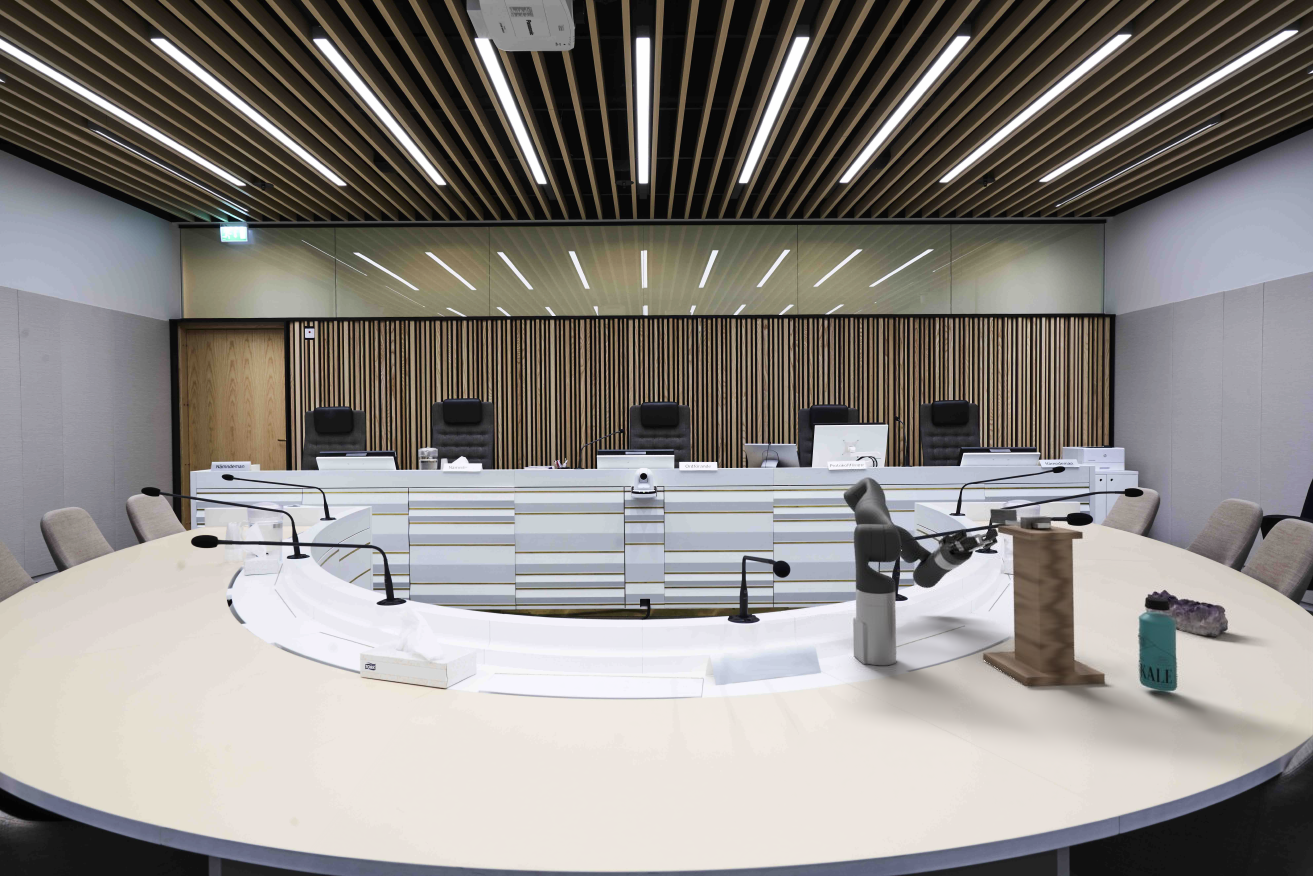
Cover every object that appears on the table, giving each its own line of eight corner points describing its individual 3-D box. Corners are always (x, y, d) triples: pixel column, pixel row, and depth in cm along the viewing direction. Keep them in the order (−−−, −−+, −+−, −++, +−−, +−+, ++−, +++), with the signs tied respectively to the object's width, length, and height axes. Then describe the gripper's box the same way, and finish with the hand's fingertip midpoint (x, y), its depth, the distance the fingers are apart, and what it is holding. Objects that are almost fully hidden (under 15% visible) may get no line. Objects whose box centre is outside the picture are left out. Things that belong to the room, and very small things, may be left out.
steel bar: (1038, 527, 144) (1037, 512, 144) (991, 522, 162) (990, 509, 162) (1050, 527, 144) (1049, 512, 145) (1002, 522, 162) (1001, 508, 162)
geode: (1130, 620, 185) (1131, 586, 186) (1158, 621, 189) (1159, 588, 190) (1209, 638, 166) (1210, 599, 167) (1239, 639, 169) (1240, 601, 170)
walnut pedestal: (1026, 686, 138) (1023, 523, 138) (983, 660, 153) (980, 514, 154) (1104, 683, 139) (1102, 521, 139) (1053, 658, 155) (1051, 512, 155)
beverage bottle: (1163, 686, 136) (1162, 594, 136) (1186, 699, 130) (1184, 602, 130) (1131, 686, 137) (1129, 593, 137) (1152, 698, 130) (1150, 601, 130)
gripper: (925, 541, 185) (950, 519, 171) (972, 540, 186) (1001, 518, 172) (932, 566, 181) (958, 546, 167) (980, 564, 182) (1010, 544, 168)
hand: (980, 532), depth 169 cm, fingers open, 8 cm apart
